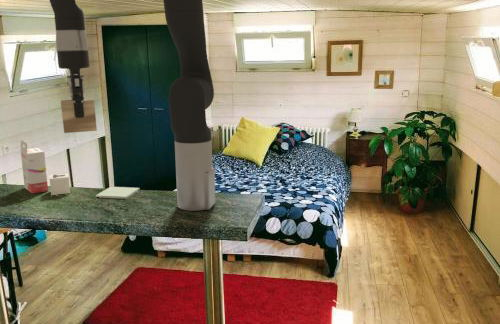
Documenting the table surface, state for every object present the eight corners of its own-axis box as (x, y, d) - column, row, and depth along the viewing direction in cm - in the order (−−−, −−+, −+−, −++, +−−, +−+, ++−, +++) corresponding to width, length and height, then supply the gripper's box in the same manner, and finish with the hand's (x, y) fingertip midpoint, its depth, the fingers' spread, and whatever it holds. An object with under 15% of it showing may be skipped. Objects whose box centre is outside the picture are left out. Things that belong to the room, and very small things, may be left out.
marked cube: (70, 194, 139) (68, 176, 137) (51, 196, 137) (49, 178, 136) (69, 189, 143) (68, 172, 142) (51, 191, 141) (49, 174, 140)
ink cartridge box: (49, 191, 142) (44, 141, 138) (31, 194, 139) (25, 143, 135) (41, 185, 148) (36, 137, 145) (24, 187, 145) (18, 139, 142)
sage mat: (139, 189, 142) (139, 187, 142) (126, 198, 133) (126, 196, 133) (110, 188, 143) (110, 186, 143) (95, 197, 135) (95, 195, 135)
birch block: (96, 130, 128) (94, 100, 126) (64, 133, 125) (61, 101, 123) (95, 128, 132) (92, 98, 130) (63, 130, 129) (60, 100, 127)
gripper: (90, 48, 119) (96, 118, 122) (86, 49, 132) (91, 113, 135) (57, 49, 116) (64, 120, 120) (56, 50, 129) (63, 114, 133)
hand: (79, 116), depth 128 cm, fingers closed on birch block, 4 cm apart
